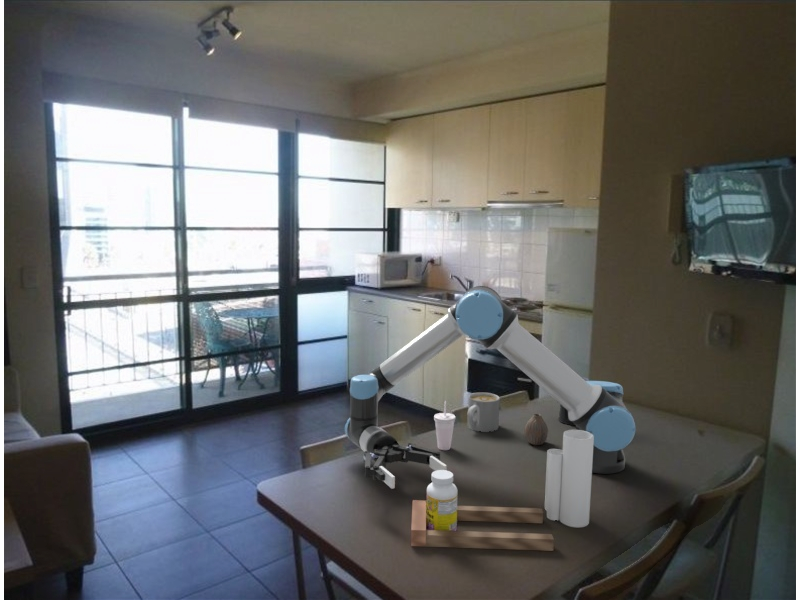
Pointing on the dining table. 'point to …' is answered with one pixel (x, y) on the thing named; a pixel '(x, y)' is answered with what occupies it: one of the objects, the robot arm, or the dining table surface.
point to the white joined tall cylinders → (570, 479)
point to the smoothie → (444, 428)
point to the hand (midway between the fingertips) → (420, 477)
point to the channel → (481, 538)
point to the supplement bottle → (441, 502)
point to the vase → (536, 430)
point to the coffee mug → (483, 412)
